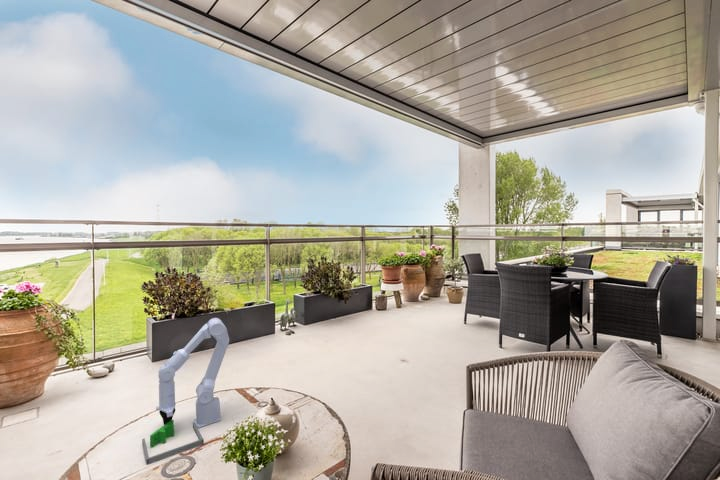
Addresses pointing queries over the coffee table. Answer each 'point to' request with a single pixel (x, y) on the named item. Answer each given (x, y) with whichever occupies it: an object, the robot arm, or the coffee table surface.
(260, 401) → the coffee table surface
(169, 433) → the green stepped block
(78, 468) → the coffee table surface
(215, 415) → the robot arm
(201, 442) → the grey u-shaped frame
